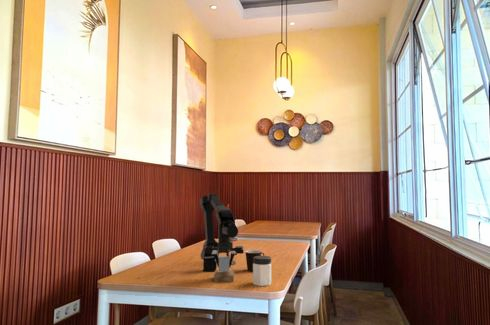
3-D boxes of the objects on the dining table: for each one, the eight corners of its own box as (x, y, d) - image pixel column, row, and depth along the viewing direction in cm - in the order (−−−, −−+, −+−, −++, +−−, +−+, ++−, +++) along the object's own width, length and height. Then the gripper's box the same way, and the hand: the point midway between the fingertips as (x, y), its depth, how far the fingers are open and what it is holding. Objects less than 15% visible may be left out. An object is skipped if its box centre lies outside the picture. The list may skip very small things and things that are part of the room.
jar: (275, 283, 163) (275, 257, 164) (264, 287, 157) (264, 259, 158) (260, 280, 170) (260, 254, 170) (249, 283, 164) (249, 257, 164)
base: (214, 281, 167) (214, 275, 167) (215, 277, 176) (215, 270, 176) (233, 281, 167) (233, 275, 167) (233, 277, 176) (233, 270, 176)
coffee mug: (247, 272, 185) (247, 253, 185) (243, 269, 193) (243, 250, 194) (269, 271, 188) (268, 252, 189) (263, 268, 196) (263, 249, 197)
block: (218, 271, 169) (218, 258, 170) (219, 268, 174) (219, 256, 175) (229, 271, 169) (229, 258, 170) (229, 268, 174) (229, 256, 175)
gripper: (203, 237, 165) (203, 271, 164) (243, 237, 165) (243, 271, 164) (205, 234, 176) (205, 266, 175) (243, 234, 176) (243, 266, 175)
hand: (224, 267), depth 172 cm, fingers closed on block, 5 cm apart
